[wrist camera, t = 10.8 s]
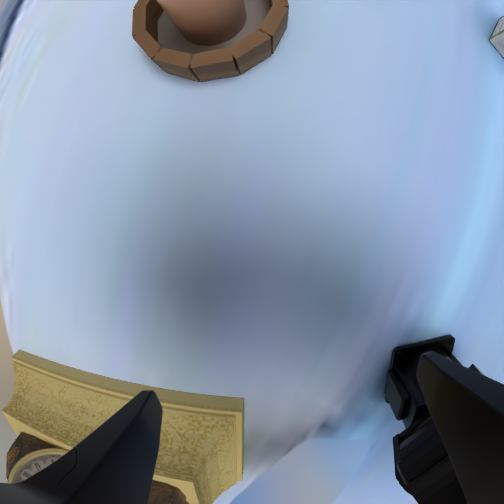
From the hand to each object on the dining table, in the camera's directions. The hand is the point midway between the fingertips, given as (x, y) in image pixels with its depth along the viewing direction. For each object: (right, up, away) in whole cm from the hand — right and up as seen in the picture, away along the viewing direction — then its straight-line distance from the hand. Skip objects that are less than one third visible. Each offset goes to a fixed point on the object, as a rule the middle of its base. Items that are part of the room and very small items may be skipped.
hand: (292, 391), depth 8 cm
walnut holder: (-4, +21, +8) cm, 23 cm away
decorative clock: (-16, -14, +19) cm, 29 cm away
